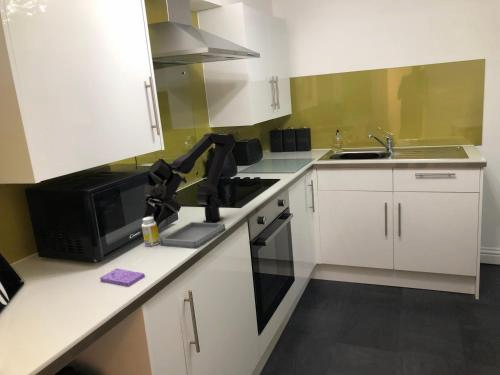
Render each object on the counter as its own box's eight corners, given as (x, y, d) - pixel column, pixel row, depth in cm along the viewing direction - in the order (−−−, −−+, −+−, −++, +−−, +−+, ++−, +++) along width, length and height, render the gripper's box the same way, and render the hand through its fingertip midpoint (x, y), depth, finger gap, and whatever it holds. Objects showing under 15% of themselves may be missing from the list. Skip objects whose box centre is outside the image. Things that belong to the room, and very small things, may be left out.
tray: (192, 227, 170) (191, 222, 170) (225, 229, 163) (224, 223, 162) (161, 245, 153) (160, 239, 153) (196, 248, 145) (195, 241, 145)
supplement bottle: (160, 240, 159) (156, 215, 157) (159, 245, 154) (154, 219, 152) (146, 242, 159) (141, 217, 157) (144, 247, 153) (139, 221, 151)
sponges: (117, 273, 133) (116, 267, 133) (146, 278, 127) (145, 272, 126) (100, 282, 127) (99, 277, 127) (129, 288, 121) (128, 282, 121)
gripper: (142, 174, 162) (121, 209, 156) (169, 177, 148) (147, 214, 143) (162, 189, 169) (143, 223, 163) (189, 193, 155) (170, 229, 150)
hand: (150, 222), depth 155 cm, fingers open, 9 cm apart
